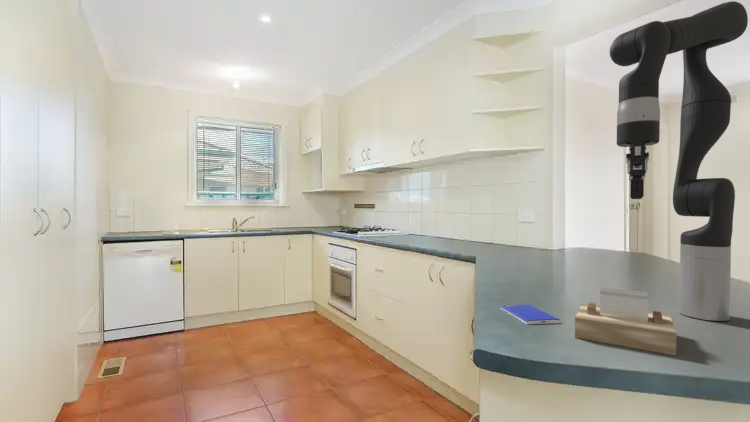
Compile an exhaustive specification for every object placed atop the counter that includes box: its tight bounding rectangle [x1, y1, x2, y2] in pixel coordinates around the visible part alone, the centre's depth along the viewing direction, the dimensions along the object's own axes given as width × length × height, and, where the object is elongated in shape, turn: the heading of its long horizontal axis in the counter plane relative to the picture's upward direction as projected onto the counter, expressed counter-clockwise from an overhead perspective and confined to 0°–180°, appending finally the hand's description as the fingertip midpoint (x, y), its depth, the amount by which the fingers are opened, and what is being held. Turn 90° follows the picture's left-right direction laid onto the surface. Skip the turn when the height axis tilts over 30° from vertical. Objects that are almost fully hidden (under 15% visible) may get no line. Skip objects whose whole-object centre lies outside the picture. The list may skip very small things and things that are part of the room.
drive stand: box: [574, 301, 678, 356], centre depth 77 cm, size 14×16×6 cm
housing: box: [599, 286, 649, 322], centre depth 77 cm, size 8×4×5 cm, turn 55°
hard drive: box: [500, 303, 561, 325], centre depth 91 cm, size 2×8×12 cm
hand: (636, 198), depth 81 cm, fingers open, 8 cm apart
